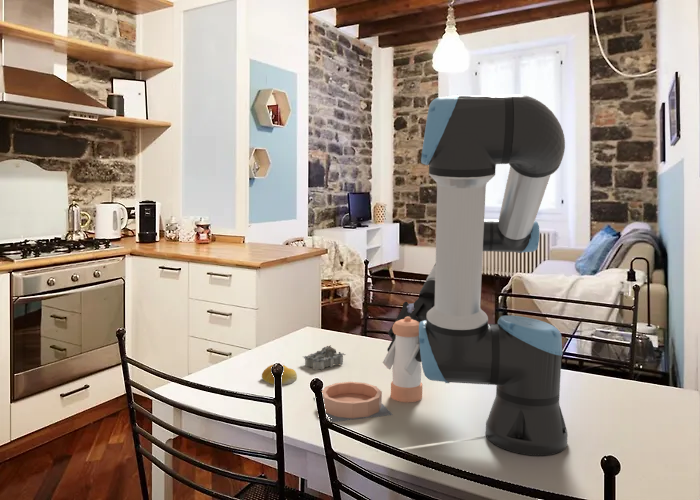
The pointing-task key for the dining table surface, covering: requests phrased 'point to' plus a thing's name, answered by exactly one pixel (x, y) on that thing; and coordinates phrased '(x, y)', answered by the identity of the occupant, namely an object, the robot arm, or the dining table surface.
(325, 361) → the egg carton
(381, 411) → the mat
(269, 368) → the bread roll
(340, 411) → the dish
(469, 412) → the dining table surface
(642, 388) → the dining table surface
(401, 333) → the pepper shaker
